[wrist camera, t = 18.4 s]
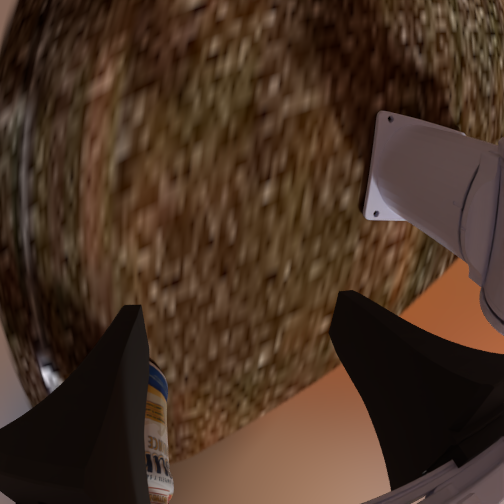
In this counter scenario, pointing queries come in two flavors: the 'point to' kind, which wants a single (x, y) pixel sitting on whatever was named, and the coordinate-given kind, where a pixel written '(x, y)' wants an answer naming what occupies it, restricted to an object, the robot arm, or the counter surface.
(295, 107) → the counter surface
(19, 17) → the counter surface
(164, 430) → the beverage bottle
